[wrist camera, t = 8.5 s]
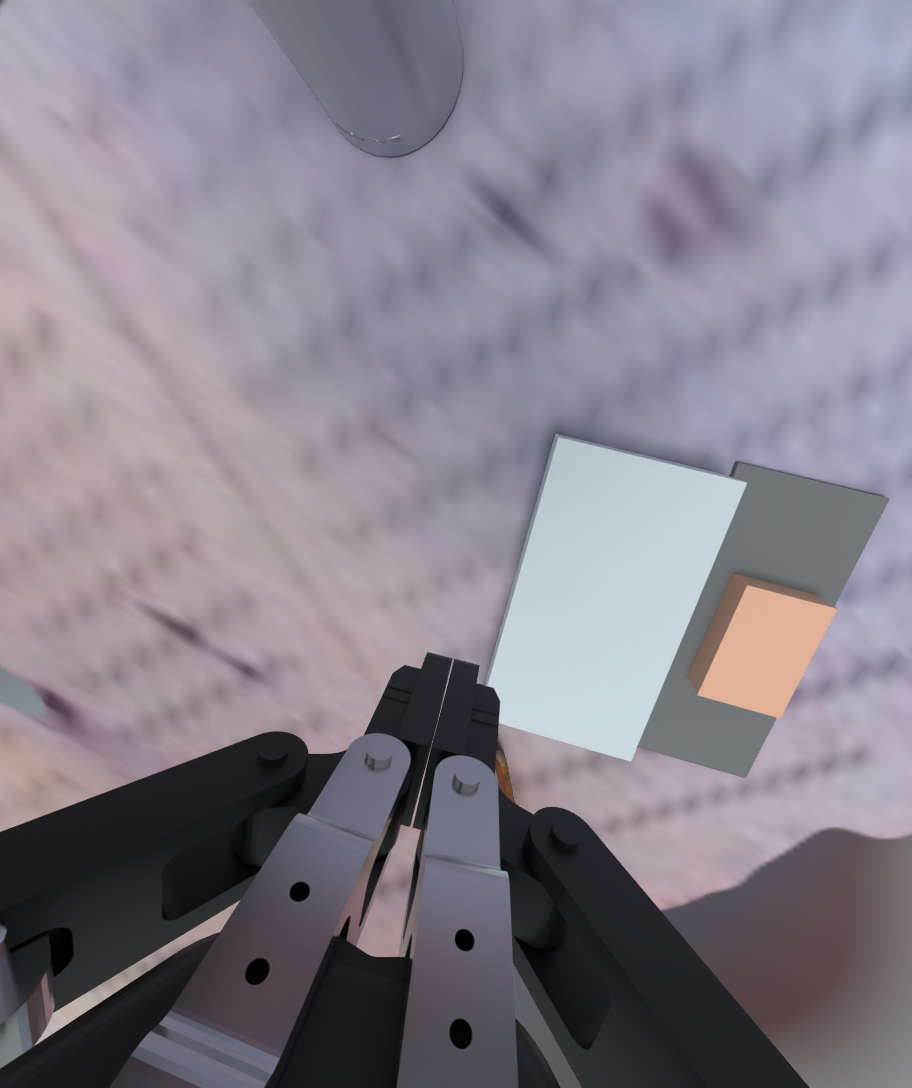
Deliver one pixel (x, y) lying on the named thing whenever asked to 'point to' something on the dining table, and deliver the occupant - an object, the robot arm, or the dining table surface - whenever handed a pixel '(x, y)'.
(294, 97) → the dining table surface
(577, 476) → the plate
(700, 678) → the peach rectangular block
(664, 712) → the mat
